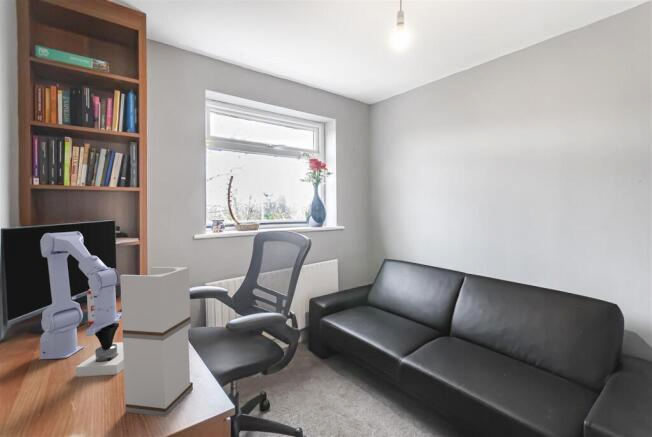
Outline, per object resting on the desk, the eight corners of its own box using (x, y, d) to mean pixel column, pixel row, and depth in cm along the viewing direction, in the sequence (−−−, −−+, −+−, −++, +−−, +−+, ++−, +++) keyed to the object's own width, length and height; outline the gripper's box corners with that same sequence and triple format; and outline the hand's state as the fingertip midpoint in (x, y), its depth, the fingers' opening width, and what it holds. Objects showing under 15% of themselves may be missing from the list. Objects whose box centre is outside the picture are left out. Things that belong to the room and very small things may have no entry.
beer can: (108, 322, 131) (106, 288, 130) (91, 327, 125) (89, 291, 125) (102, 319, 134) (101, 286, 134) (85, 324, 129) (84, 289, 128)
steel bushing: (91, 371, 90) (90, 352, 90) (103, 361, 96) (103, 344, 96) (110, 369, 91) (109, 351, 91) (121, 360, 96) (120, 343, 96)
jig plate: (76, 376, 88) (75, 367, 88) (111, 350, 104) (110, 342, 104) (117, 374, 89) (116, 364, 89) (145, 349, 105) (145, 341, 105)
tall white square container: (192, 389, 81) (188, 267, 79) (165, 416, 70) (160, 276, 69) (157, 385, 83) (152, 266, 81) (125, 411, 72) (120, 275, 71)
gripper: (102, 314, 86) (104, 358, 86) (131, 299, 100) (133, 337, 101) (77, 315, 85) (79, 360, 86) (110, 300, 100) (112, 338, 100)
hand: (107, 347), depth 93 cm, fingers closed, pressing on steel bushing
